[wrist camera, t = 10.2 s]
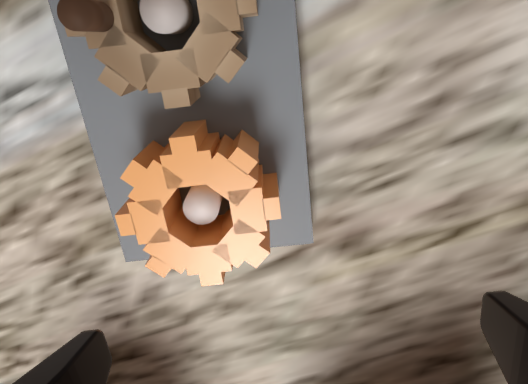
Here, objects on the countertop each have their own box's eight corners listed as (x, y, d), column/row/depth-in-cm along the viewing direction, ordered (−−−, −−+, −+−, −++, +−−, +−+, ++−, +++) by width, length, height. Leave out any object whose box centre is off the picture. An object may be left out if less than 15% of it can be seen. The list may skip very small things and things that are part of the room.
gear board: (310, 229, 21) (318, 264, 18) (134, 247, 22) (111, 284, 18) (284, -94, 15) (289, -129, 12) (47, -61, 16) (-8, -86, 13)
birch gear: (266, 88, 17) (266, 105, 13) (114, 107, 17) (65, 129, 13) (245, -100, 14) (237, -157, 10) (66, -75, 14) (-14, -119, 10)
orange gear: (284, 243, 20) (288, 277, 17) (155, 257, 20) (137, 292, 17) (269, 111, 17) (270, 126, 14) (121, 129, 17) (94, 147, 15)
